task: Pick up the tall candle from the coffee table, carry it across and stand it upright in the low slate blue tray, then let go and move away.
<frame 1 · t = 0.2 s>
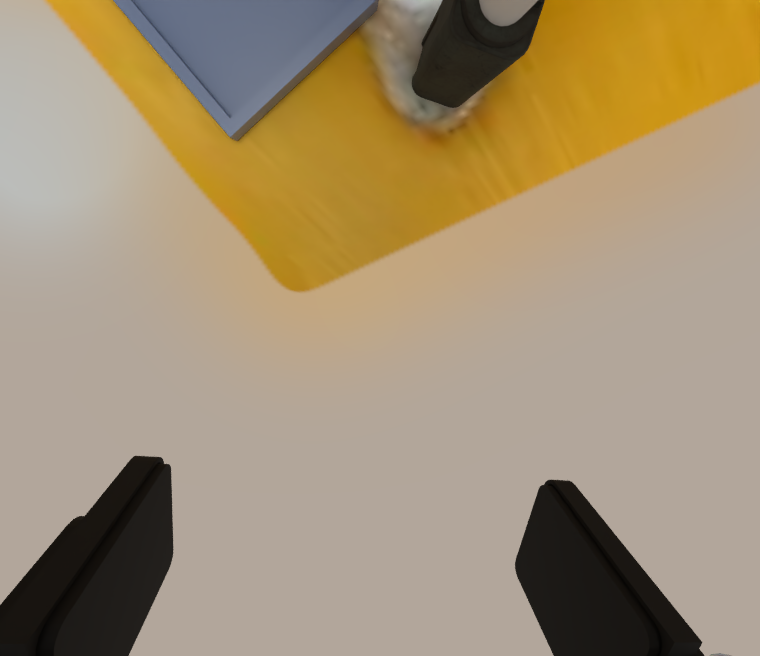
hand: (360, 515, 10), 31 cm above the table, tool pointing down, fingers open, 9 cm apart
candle: (443, 71, 34), on the table
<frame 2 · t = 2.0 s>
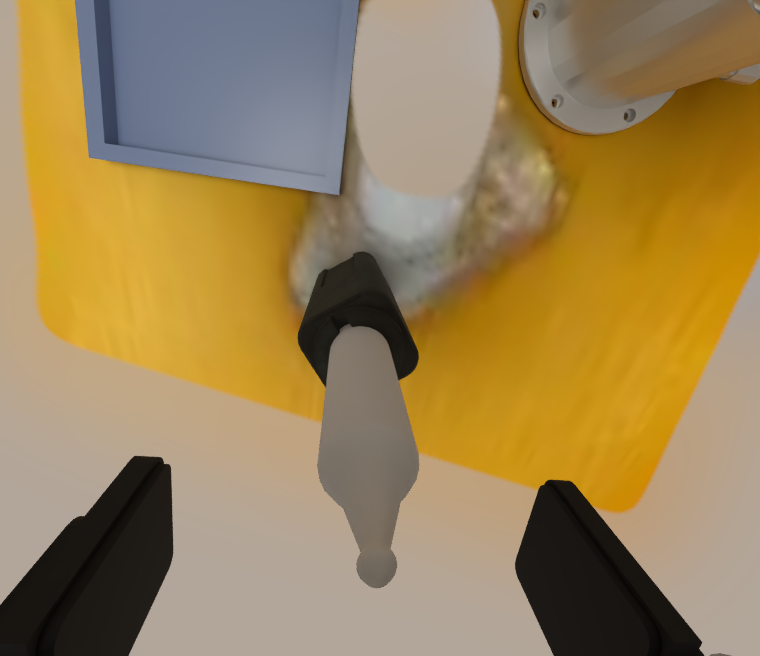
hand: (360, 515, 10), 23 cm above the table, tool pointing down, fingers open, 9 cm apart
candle: (354, 288, 31), on the table
slate blue tray: (230, 48, 25), on the table
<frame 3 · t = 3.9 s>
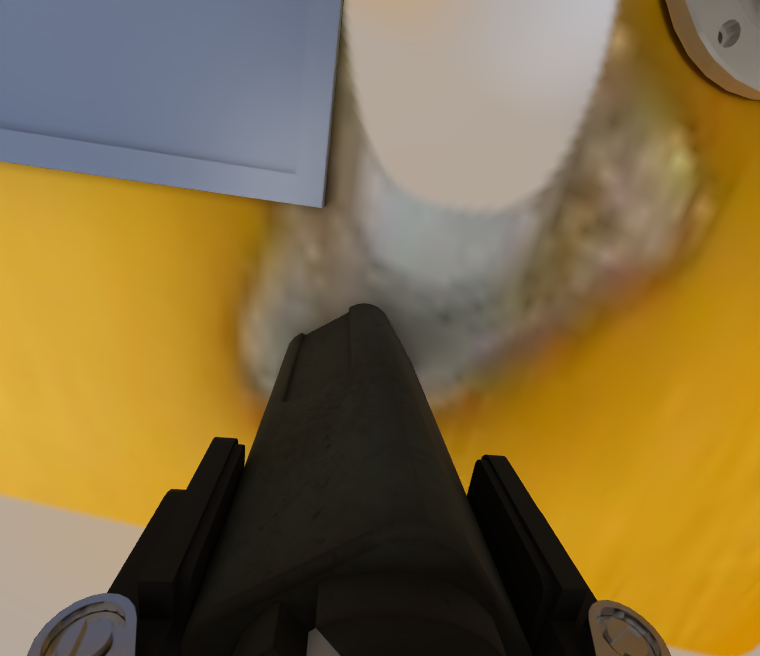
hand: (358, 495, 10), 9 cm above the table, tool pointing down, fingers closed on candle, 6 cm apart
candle: (351, 362, 19), on the table, touching gripper
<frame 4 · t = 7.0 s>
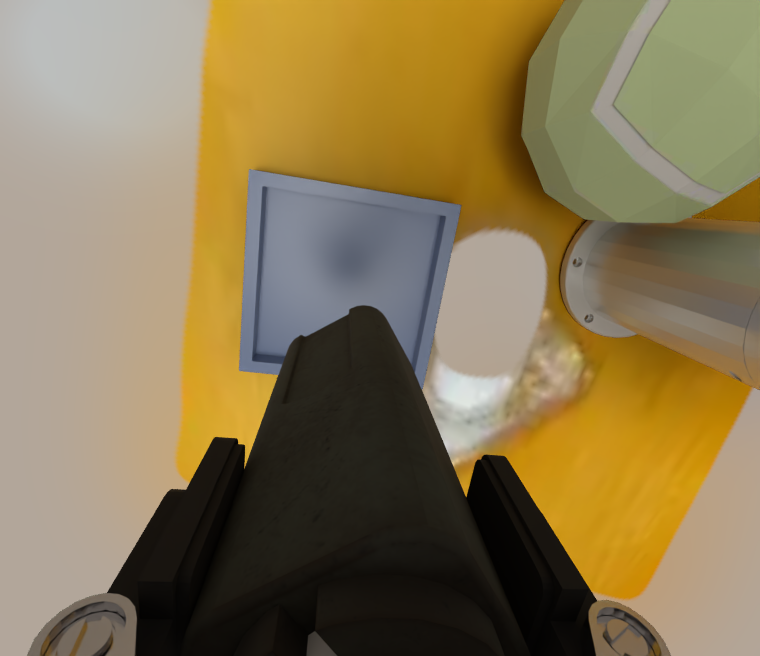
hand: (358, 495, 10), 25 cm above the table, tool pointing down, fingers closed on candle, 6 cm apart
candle: (351, 364, 19), point 16 cm above the table, touching gripper
decorative sphere: (581, 119, 31), on the table
slate blue tray: (345, 285, 33), on the table
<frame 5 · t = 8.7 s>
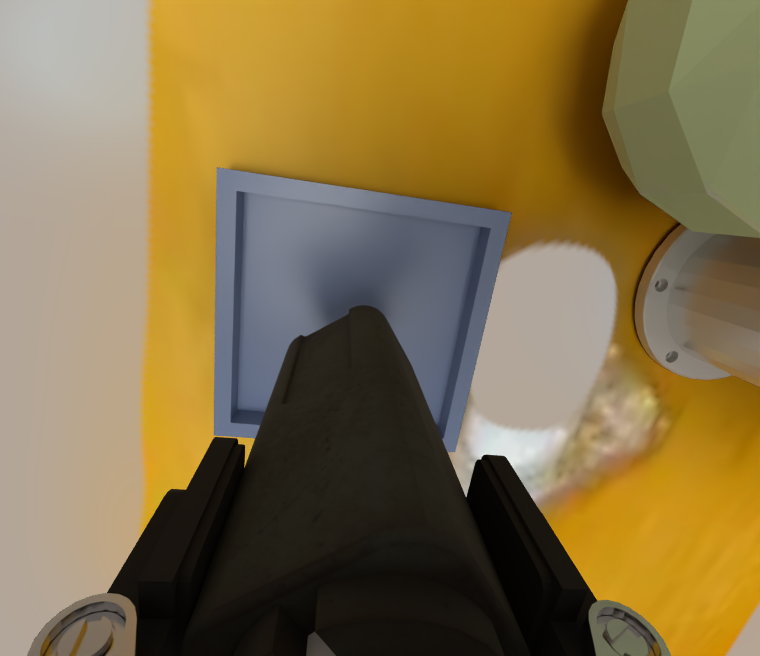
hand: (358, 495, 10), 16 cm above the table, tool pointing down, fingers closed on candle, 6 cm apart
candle: (351, 364, 19), point 7 cm above the table, touching gripper
decorative sphere: (672, 92, 23), on the table
slate blue tray: (352, 319, 25), on the table
when the fingers open (10 cm above the table, at t = 10.2 s): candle stays where it is, resting on slate blue tray.
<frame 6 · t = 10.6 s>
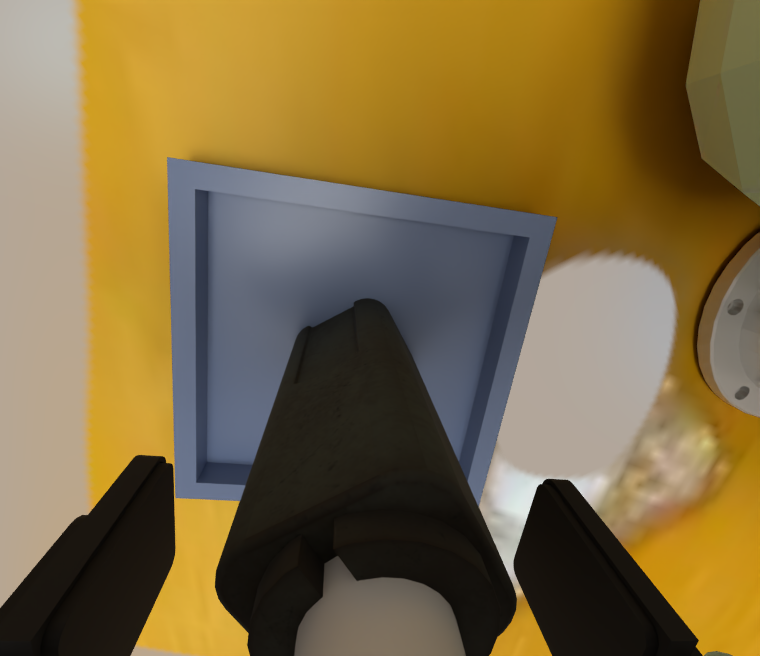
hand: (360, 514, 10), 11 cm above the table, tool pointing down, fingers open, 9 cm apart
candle: (355, 354, 20), resting on slate blue tray
decorative sphere: (759, 63, 18), on the table
slate blue tray: (350, 350, 20), on the table
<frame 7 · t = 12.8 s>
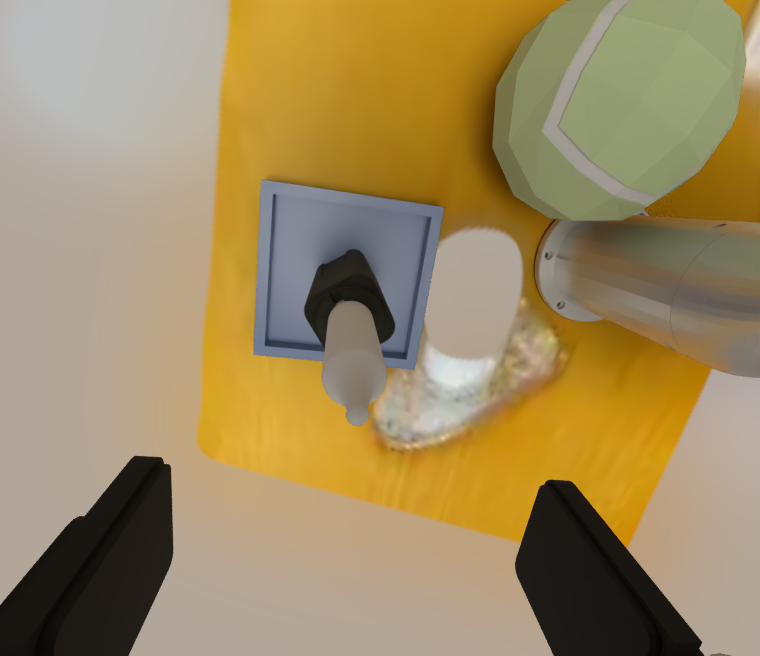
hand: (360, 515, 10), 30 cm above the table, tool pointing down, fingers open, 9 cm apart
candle: (347, 280, 38), resting on slate blue tray
decorative sphere: (548, 130, 36), on the table
slate blue tray: (345, 279, 38), on the table
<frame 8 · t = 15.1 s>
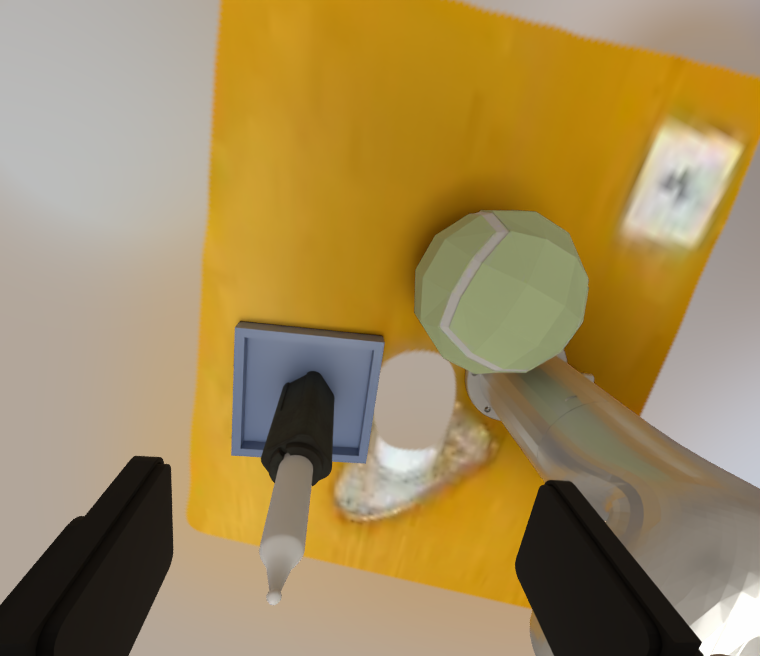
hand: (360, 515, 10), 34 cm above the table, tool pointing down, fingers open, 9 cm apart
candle: (308, 393, 46), resting on slate blue tray
decorative sphere: (470, 277, 44), on the table
slate blue tray: (307, 391, 46), on the table
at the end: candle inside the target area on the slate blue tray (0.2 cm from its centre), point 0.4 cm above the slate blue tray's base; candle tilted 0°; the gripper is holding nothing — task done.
